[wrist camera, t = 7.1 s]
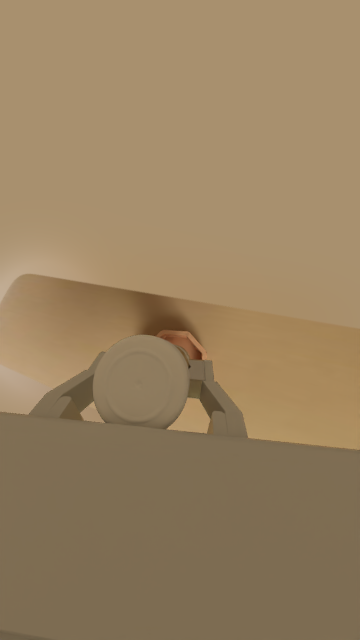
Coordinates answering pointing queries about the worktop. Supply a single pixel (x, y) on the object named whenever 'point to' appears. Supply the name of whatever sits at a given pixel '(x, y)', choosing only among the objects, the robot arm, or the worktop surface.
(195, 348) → the bowl
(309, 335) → the worktop surface
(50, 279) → the worktop surface
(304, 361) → the worktop surface
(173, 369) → the sprinkles bottle
